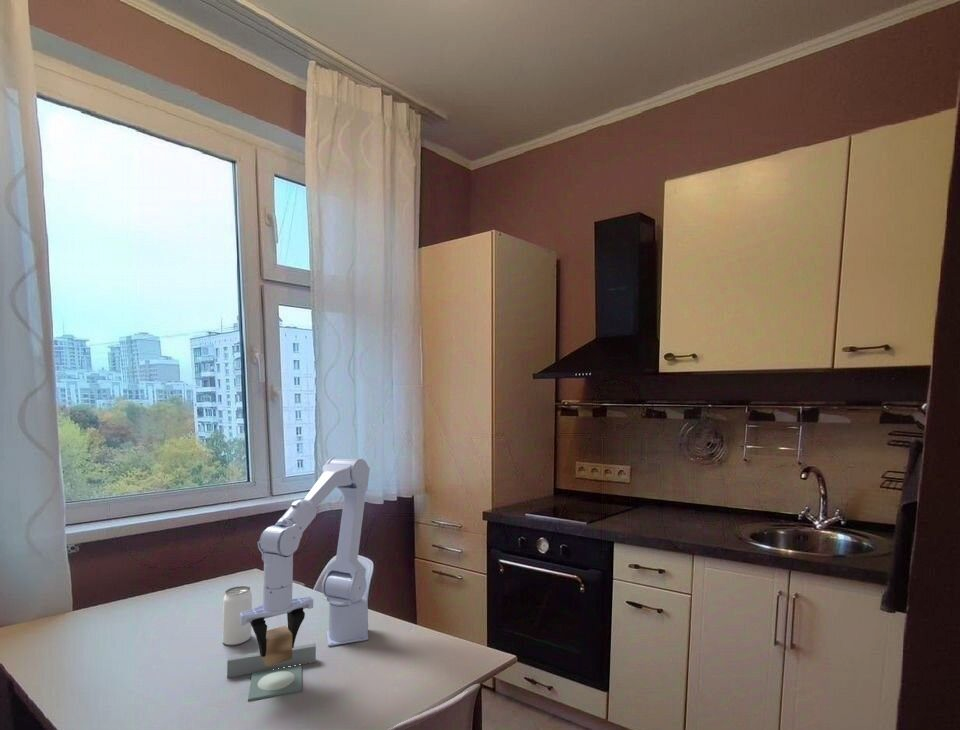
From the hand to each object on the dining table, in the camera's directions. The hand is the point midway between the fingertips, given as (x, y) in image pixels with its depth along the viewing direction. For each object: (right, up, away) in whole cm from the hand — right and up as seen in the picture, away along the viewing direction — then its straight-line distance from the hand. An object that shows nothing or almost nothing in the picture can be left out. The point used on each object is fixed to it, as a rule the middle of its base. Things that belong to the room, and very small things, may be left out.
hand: (276, 650), depth 106 cm
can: (-17, -8, +19) cm, 27 cm away
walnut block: (0, -2, 0) cm, 2 cm away
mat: (0, -7, 0) cm, 6 cm away
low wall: (-3, -7, +5) cm, 9 cm away
